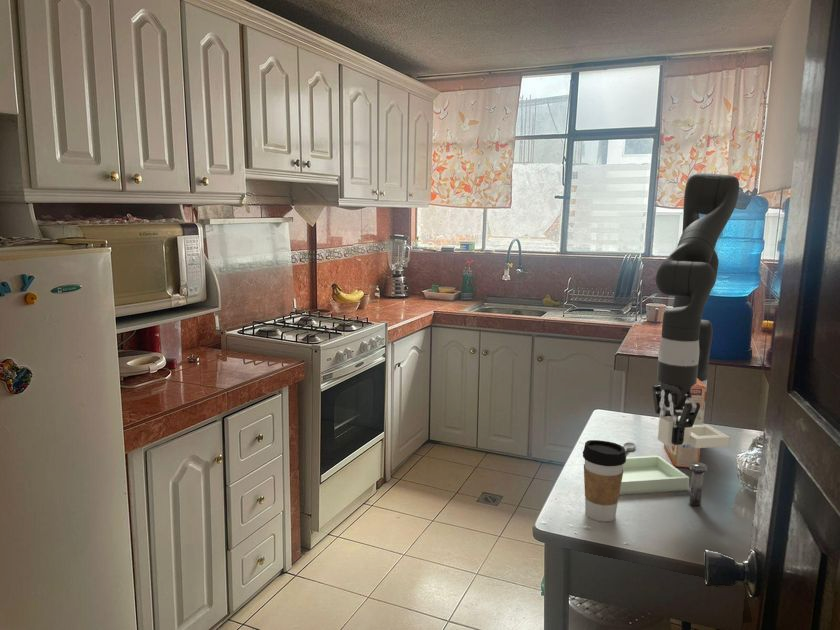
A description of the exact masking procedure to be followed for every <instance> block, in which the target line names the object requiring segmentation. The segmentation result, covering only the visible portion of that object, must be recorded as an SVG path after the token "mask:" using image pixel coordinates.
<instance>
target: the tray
mask: <svg viewBox="0 0 840 630" xmlns="http://www.w3.org/2000/svg"><path fill="white" fill-rule="evenodd" d="M689 483H690V477H689V476H688V475H687V474H685V473H684V472H682V471H681V470H679V469H678V467H677V468H676V466H674V464H673V465H672V464H671V463H669V462H668V461H667V460H665V459H664V458H663V457H661V456H660V455H646V456H645V455H644V456H626V462H625V463H624V464H623V476H622V482H621V487H620V493H619V496H623V495H638V494H649V493H650V494H651V493H664V492H665V493H666V492H681V491H688V490H689Z"/></svg>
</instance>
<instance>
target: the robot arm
mask: <svg viewBox="0 0 840 630" xmlns="http://www.w3.org/2000/svg"><path fill="white" fill-rule="evenodd" d="M739 194H740V181H739V178H737V177H736V176H734V175H731V174H721V173H720V174H718V173H705V172H695V173H692V174H690V175H689V177H688V179H687V182H686V184H685V189H684V196H683V197H684V198H683V212H682V213H683V214H682V215H683V216H682V228H681V229H682V233H681V236H680V238H679V239H678V240H679V241H678V243H677V246H676V247H675V249H674V250H673V251H672V252H671V253H670V254H669V255H668V256H667V257H666V258H665V259H664V260H663V261H662V263H660V266H659V267H658V270H657V271H656V275H655V285H656V288H657V290H658V291H659V292H660V293H662V295H666V296H669V297H670V296H671V297H672V296H673V297H674V300H673V306H672V307H669V308H667V309H666V310H664V312H663V315H662V326H661V327H662V328H661V338H660V343H659V347H658V357H657V358H658V359H657V371H656V380H657V381H658V382H659V383H660V385H659V384H658V385H652V390H651V391H652V397H653V404H654V405H653V406H654V411H655V414H656V415H659V418H660V417H662V416H672V417H673V430H672V441H671V442H672V444H674V445H682V444H683V441H684V430H685V428H686V427H692V426H693V424H694V421H695V419H696V416H697V414H698V411H699V409H700V404H699V403H694V402H693V400H692V399H691V397H692V395H691V387H692V386H693V385H695V384H696V382H697V378H698V379H699V380H700V381H701V382H702V383H703V384H704V385H705V386H706V387H707V386H708V385H707V384H708V374H709V372H708V371H709V365H710V364H709V362H710V353H711V348H712V343H713V336H714V334H713V333H714V330H713V325H712V322H711V321H710V320H708V319H702V317H703V313H704V310H705V306H706V303H707V301H708V299H709V297H710V294H711V292H712V290H713V288H714V286H715V284H716V281H717V277H718V276H717V275H718V269H719V263H720V262H719V258H718V257H719V256H718V254H717V252H716V250H715V249H716V244H717V242H718V239H719V237H720V235H721V234H722V232H723V230H724V229H725V227H726V225H727V224H728V222H729V221H730V218H731V216H732V214H733V212H734V210H735V208H736V206H737V203H738V198H739ZM700 215H703V216H702V217H700ZM676 410H683V411H681V412H676ZM678 416H681V417H680V420H679V422H678ZM687 419H688V421H687ZM703 420H704V418H703Z"/></svg>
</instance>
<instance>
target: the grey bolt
mask: <svg viewBox="0 0 840 630" xmlns="http://www.w3.org/2000/svg"><path fill="white" fill-rule="evenodd" d="M689 469H690V470H691V471H692V472H691V482H690V493H689V504H688V505H689V506H691V507H692V508H701V505H702V494H703V483H704V475H705V473H707V469H708V466H707V464H705V463H703V462H700V461H699V462H692V463H690V468H689Z"/></svg>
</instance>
